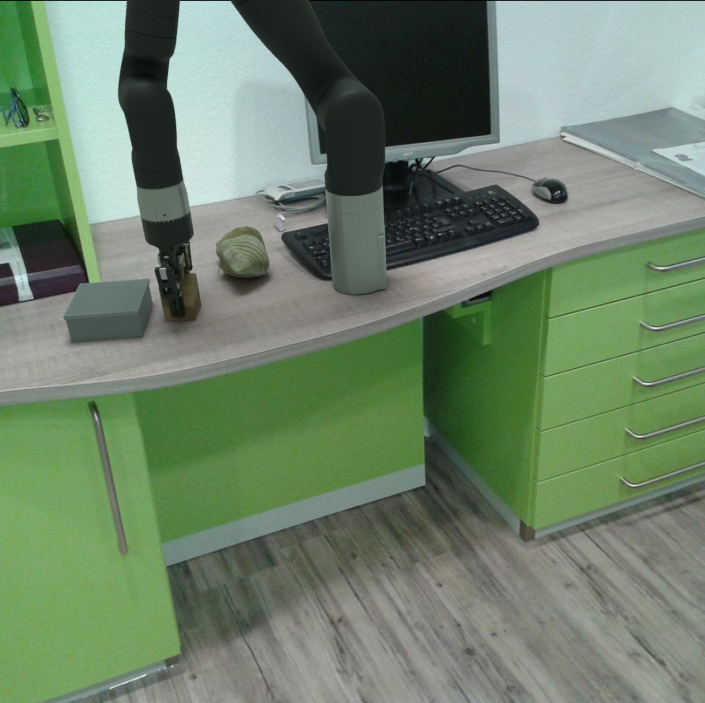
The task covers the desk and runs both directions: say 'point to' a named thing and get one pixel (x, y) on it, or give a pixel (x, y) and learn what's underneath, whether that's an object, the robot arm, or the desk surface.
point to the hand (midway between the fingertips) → (182, 307)
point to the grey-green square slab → (109, 310)
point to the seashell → (243, 253)
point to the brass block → (185, 299)
